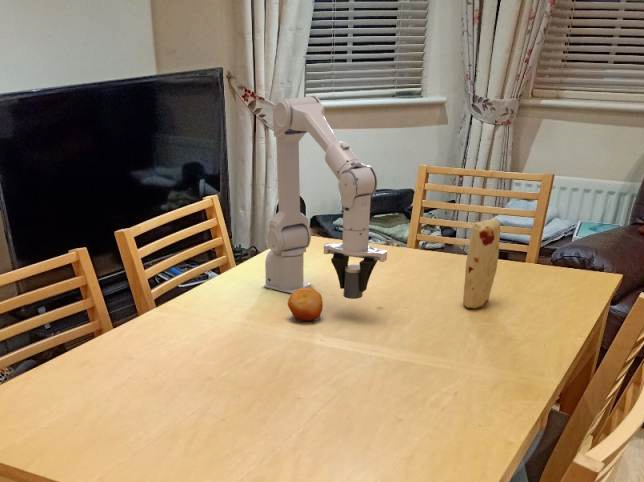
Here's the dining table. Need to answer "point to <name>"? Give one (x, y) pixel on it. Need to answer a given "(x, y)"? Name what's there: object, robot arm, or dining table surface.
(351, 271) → the salt shaker
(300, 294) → the fruit
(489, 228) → the food model
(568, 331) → the dining table surface
